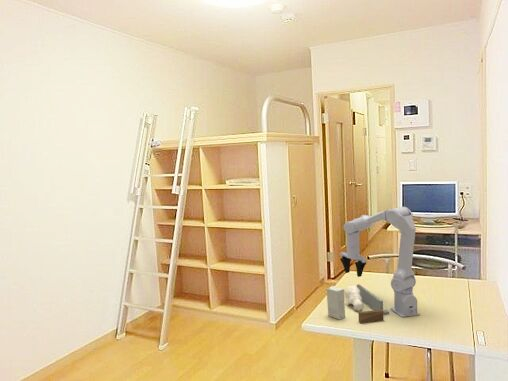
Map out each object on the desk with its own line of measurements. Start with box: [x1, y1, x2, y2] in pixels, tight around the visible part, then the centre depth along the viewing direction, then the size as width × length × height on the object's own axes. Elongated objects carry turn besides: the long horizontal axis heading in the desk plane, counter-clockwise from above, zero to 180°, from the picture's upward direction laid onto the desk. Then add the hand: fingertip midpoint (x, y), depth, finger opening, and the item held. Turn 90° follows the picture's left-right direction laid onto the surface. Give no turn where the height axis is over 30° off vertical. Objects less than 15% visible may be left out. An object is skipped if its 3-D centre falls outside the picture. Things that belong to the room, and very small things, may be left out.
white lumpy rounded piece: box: [344, 284, 364, 312], centre depth 175 cm, size 6×8×12 cm
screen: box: [356, 284, 390, 316], centre depth 176 cm, size 22×4×6 cm, turn 11°
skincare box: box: [326, 285, 346, 320], centre depth 165 cm, size 6×4×12 cm
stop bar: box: [357, 309, 384, 324], centre depth 160 cm, size 2×10×4 cm, turn 101°
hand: (353, 274), depth 188 cm, fingers open, 7 cm apart
